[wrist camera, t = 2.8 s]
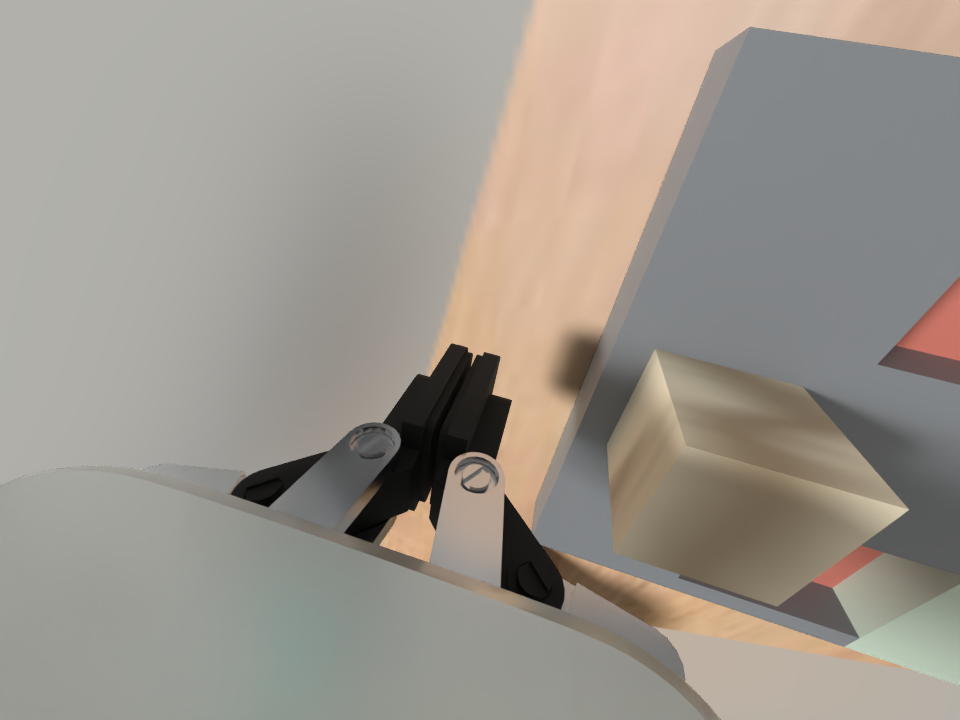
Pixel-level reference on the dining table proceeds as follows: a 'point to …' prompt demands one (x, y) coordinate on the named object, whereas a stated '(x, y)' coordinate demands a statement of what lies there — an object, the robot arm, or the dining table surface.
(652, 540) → the beech block
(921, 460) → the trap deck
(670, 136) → the dining table surface
